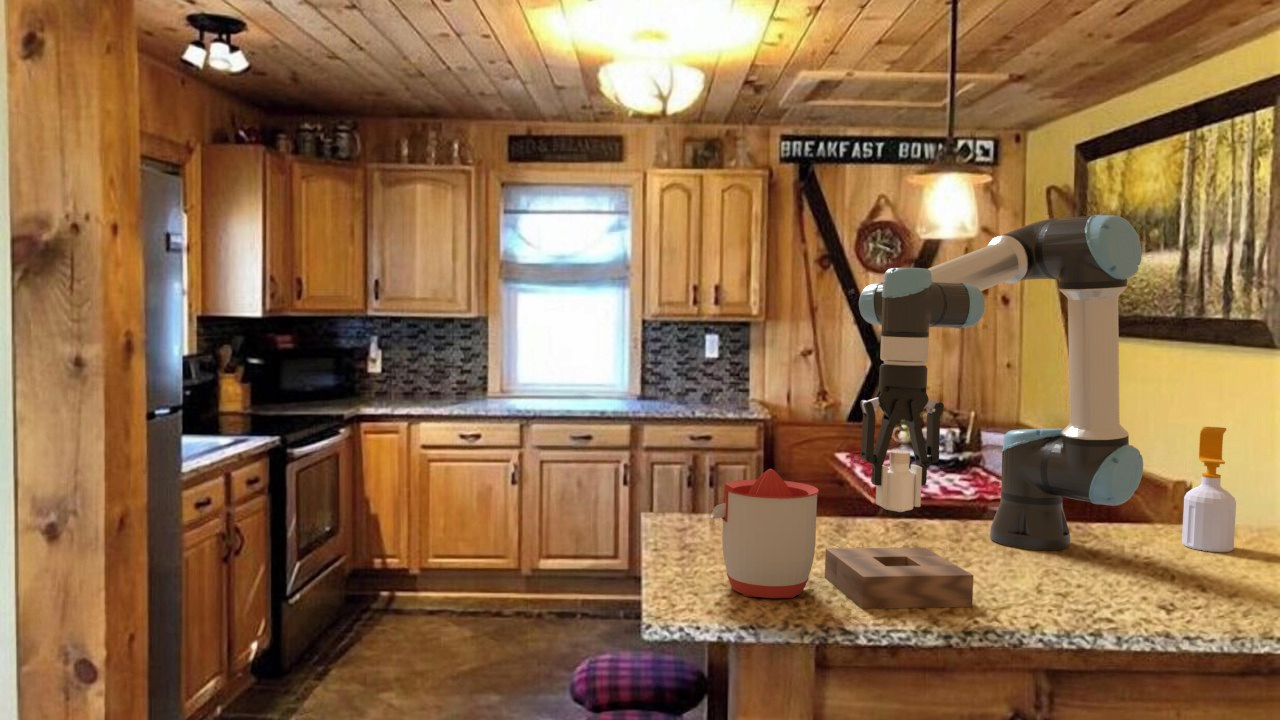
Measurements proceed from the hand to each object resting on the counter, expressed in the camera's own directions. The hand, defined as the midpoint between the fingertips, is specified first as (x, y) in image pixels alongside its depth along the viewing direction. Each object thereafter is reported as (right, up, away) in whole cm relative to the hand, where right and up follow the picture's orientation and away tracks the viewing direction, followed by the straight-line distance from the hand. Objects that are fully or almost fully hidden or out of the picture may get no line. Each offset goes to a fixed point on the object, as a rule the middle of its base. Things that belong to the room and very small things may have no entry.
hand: (897, 504), depth 164 cm
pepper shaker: (0, -1, 0) cm, 1 cm away
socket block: (0, -14, +1) cm, 14 cm away
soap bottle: (+72, -14, +38) cm, 83 cm away
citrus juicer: (-22, -14, 0) cm, 26 cm away
